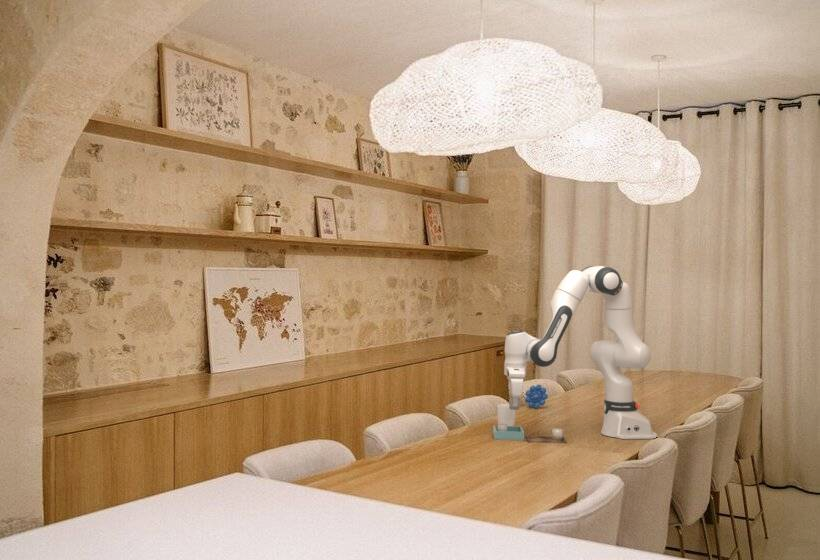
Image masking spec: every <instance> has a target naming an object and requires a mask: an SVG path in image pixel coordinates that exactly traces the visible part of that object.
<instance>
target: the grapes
mask: <svg viewBox="0 0 820 560" xmlns="http://www.w3.org/2000/svg"><path fill="white" fill-rule="evenodd" d="M546 392H547V388H546V387H543V386H542V385H541V384H539V383H538V384H537V385H531V386H530V387H529V390H527V391H526V392H525V396H526V397H525V398H524V401H525V403H527V404H528V405H527V406H528V407H529V408H533V407H534V409H539V408H540V407H541V406H544V405H545V404H546V400H547V399H548V397H549V395H548V393H546Z"/></svg>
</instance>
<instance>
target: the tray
mask: <svg viewBox="0 0 820 560" xmlns="http://www.w3.org/2000/svg"><path fill="white" fill-rule="evenodd" d="M525 439H526V440H527V443H545V444H547V443H548V444H568V440H567V439H566V438H565V437H564V436H562V441H552V435H548V436H547V435H542V436H541V435H525Z"/></svg>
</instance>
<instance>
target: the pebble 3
mask: <svg viewBox="0 0 820 560" xmlns="http://www.w3.org/2000/svg"><path fill="white" fill-rule="evenodd" d="M551 436H552V441H562V437H563V429H562V428H557V427H554V428H551Z"/></svg>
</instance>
